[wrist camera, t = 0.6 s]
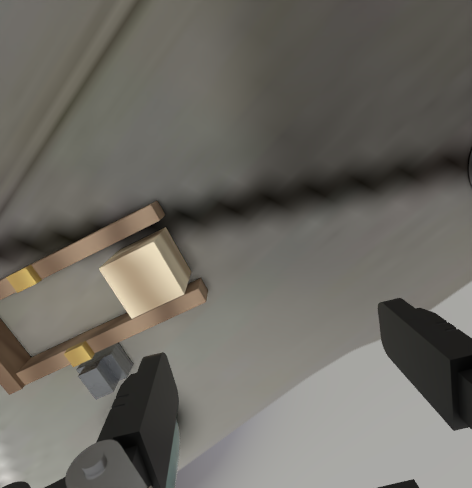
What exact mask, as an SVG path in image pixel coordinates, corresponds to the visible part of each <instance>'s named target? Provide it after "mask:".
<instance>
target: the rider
mask: <svg viewBox="0 0 472 488" xmlns="http://www.w3.org/2000/svg"><path fill="white" fill-rule="evenodd" d="M99 270H100V271H101V273H102V274H103V276H104V277H105V279H106V281H107V282H108V284H109V285H110V287H111V288H112V290H113V291H114V293H115V294H116V296H117V297H118V299H119V300H120V302H121V303H122V305H123V306H124V308H125V309H126V311H127V313H128V314H129V316H130V317H131V319H133V318H135V317H137V316H139V315H141V314H143V313H145V312H148V311H150V310H152V309H154V308H156V307H158V306H160V305H163V304H165V303H167V302H169V301H171V300H173V299H175V298H178V297H180V296H182V295H184V294H185V291H186V288H187V284H188V281H189V278H190V275H191V271H190V269H189V267H188V265H187V264H186V262H185V260H184V258H183V257H182V255H181V253H180V251H179V250H178V248H177V246H176V244H175V243H174V241H173V239H172V237H171V236H170V234H169V232H168V230H167V228H166V227H165V228H163V229H161V230H159V231H157V232H155V233H153V234H151V235H149V236H147V237H145V238H143V239H141V240H139V241H137V242H135V243H133V244H131V245H128V246H126V247H124V248H122V249H120V250H119V251H118V252H117V253H115V254H114V255H113V256H112V257H111V258H110V259H109V260H108V261H107V262H105V263H104V264H103V265H102V266H101V267H100V268H99Z"/></svg>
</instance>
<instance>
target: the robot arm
mask: <svg viewBox="0 0 472 488" xmlns="http://www.w3.org/2000/svg"><path fill="white" fill-rule="evenodd" d="M469 177H470V182H471V184H472V152H471V156H470V159H469ZM378 315H379V323H380V332H381V340H382V344H383V347H384V349H385V352H386V354H387V355H388V357H389V358H390V359H391V360H392V361H393V363H394V364H395V365H396V366H397V367H398V368H399V369H400V370H401V372H402V373H403V374H404V375H405V376H406V377H407V378H408V380H410V382H411V383H412V384H413V385H414V386H415V387H416V389H417V390H418V391H419V392H420V393H421V394H422V395H423V397H424V398H425V399H426V400H427V401H428V402H429V403H430V404H431V406H432V407H433V408H434V409H435V410H436V411H437V412H438V413H439V414H440V416H441V417H442V418H443V419H444V420H445V421H446V422H447V424H448V425H449V426H450V427H451V428H452V429H453V430H454V431H455V430H458V429H463V428H468V427H470V428H471V429H472V338H470V337H469V336H467V335H466V334H465V333H463V332H462V331H460V330H459V329H456V327H454V326H453V325H452V324H450V323H447V322H446V320H444V319H443V318H441V317H440V316H438V315H437V314H436V313H433V312H430V311H428V310H425V309H422V308H416V309H415V308H414V307H413V306H411V305H410V304H408V303H407V302H406V301H404V300H403V299H401V298H397V299H393V300H389V301H384V302H380V303H379V304H378ZM178 404H179V399H178V391H177V387H176V384H175V380H174V377H173V374H172V371H171V368H170V365H169V362H168V359H167V356H166V354H165V353H159V354H154V355H150V356H146V357H143V359H142V361H141V364H140V366H139V369H138V372H137V373H135V374H131V375H130V376H129V377H128V378H127V379H126V380H125V381H124V383H123V384H122V385H121V386H120V389H119V391H118V393H117V396H116V399H115V400H114V403H113V405H112V409H111V410H110V412H109V414H108V417H107V419H106V421H105V424H104V426H103V428H102V431H101V433H100V435H99V438H98V440H97V442H96V443H95V444H93V445H91V446H90V447H88V448H86V449H85V450H84V451H83V452H81V453H80V454H79V455H78V456H77V457H76V458H75V459H74V461H73V462H72V463H71V465H70V467H69V468H68V471H67V473H66V477H64V478H63V479H61V480H59V481H57V482H55V483H53V484H51V485H49V486H47V487H45V488H166V481H167V475H168V469H169V462H170V456H171V450H172V443H173V437H174V431H175V424H176V418H177V412H178ZM2 488H31V487H30V486H29V484H28V483H26V482H14V483H11V484H9V485H6V486H4V487H2ZM378 488H419V487H418V485H417V484H416V482H415V480H414V479H413V480H408V481H404V482H400V483H395V484H391V485H387V486H383V487H378Z"/></svg>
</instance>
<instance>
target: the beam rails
mask: <svg viewBox="0 0 472 488" xmlns="http://www.w3.org/2000/svg"><path fill="white" fill-rule="evenodd" d="M164 216H165V213H164V212H163V210H162V208H161V206H160V204H159V203H158V201H155V202H153V203H151V204H149V205H147V206H145V207H143V208H141V209H139V210H137V211H135V212H133V213H131V214H129V215H127V216H125V217H123V218H121V219H119V220H117V221H115V222H114V223H112V224H110V225H108V226H106V227H104V228H102V229H100V230H98V231H96V232H94V233H92V234H90V235H88V236H86V237H84V238H82V239H80V240H78V241H76V242H74V243H72V244H70V245H68V246H66V247H64V248H62V249H60V250H58V251H56V252H54V253H52V254H50V255H48V256H46V257H44V258H42V259H40V260H38V261H36V262H34V263H32V264H30V265H28V266H26V267H24V268H22V269H21V270H19V271H17V272H15V273H13V274H11V275H9V276H7V277H5V278H3V279H1V280H0V300H1V299H3V298H5V297H7V296H9V295H11V294H13V293H15V292H17V293H18V292H20V291H22V290H24V289H26V288H28V287H30V286H32V285H34V284H36V283H38V282H39V281H41V280H42V279H43V278H45V277H47V276H49V275H51V274H53V273H55V272H57V271H59V270H61V269H63V268H65V267H67V266H69V265H71V264H73V263H75V262H77V261H79V260H81V259H83V258H85V257H87V256H89V255H92V254H94V253H96V252H98V251H100V250H102V249H104V248H106V247H108V246H110V245H112V244H114V243H116V242H118V241H120V240H122V239H124V238H126V237H128V236H130V235H132V234H134V233H136V232H138V231H140V230H142V229H144V228H146V227H148V226H150V225H152V224H154V223H156V222H158V221H160V220H161V219H162V218H163V217H164ZM207 293H208V290H207V288H206V286H205V285H204V283H203V281H202V279H201V278H200V279H198V280H195V281H193V282H191V283H189V284H187V288H186V291H185V294H184V295H182V296H180V297H178V298H175V299H173V300H171V301H169V302H167V303H165V304H163V305H160V306H158V307H156V308H154V309H152V310H150V311H148V312H145V313H143V314H141V315H139V316H137V317H135V318H133V319H131V317H130V316H129V314H128V313H125V314H123V315H121V316H119V317H117V318H114V319H112V320H110V321H108V322H106V323H104V324H102V325H100V326H97V327H95V328H93V329H91V330H89V331H87V332H85V333H83V334H80V335H78V336H76V337H74V338H72V339H70V340H68V341H65V342H63V343H61V344H59V345H57V346H55V347H53V348H51V349H48V350H46V351H44V352H42V353H40V354H38V355H36V356H34V357H30V356H29V354H28V353H27V352H26V350H25V349H24V348H23V347H22V345H21V344H20V343H19V342H18V340H17V339H16V338H15V337H14V335H13V334H12V333H11V332H10V330H9V329H8V328H7V326H6V325H5V324H4V323H3V321H2V320H1V319H0V384H1V386H2V387H3V388H4V389H5V390H6V391H7V393H8V394H9V395H10V394H12V393H14V392H16V391H18V390H21V389H22V388H23V387H24V386H25V385H27V384H29V383H31V382H33V381H35V380H38V379H40V378H42V377H44V376H46V375H48V374H51V373H53V372H55V371H57V370H59V369H61V368H64V367H66V366H68V365H70V364H71V365H72V366H73V367H75V366H77V365H79V364H81V363H84V362H86V361H88V360H90V359H92V357H93V356H94V354H95V353H96V352H98V351H101V350H103V349H105V348H107V347H109V346H111V345H114V344H116V343H118V342H120V341H122V340H124V339H127V338H129V337H131V336H133V335H135V334H138V333H140V332H142V331H144V330H146V329H148V328H151V327H153V326H155V325H157V324H159V323H161V322H164V321H166V320H168V319H170V318H172V317H174V316H177V315H179V314H181V313H183V312H185V311H188V310H190V309H192V308H194V307H196V306H198V305H201V304H203V303H205V302H206V300H207Z"/></svg>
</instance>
